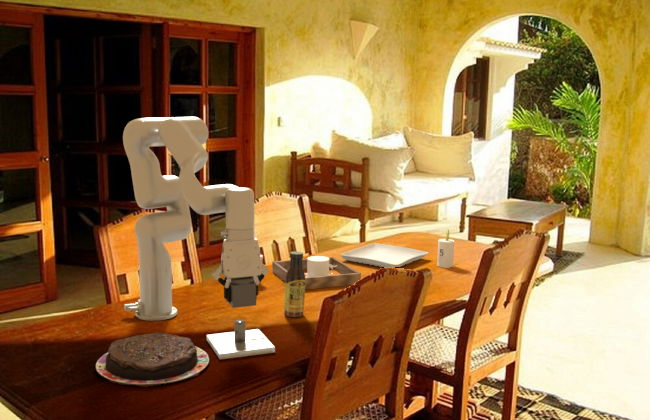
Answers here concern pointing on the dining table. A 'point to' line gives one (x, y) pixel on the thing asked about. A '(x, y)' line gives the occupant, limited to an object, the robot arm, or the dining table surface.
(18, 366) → the dining table surface
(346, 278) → the frame
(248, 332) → the shaft base
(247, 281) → the knob
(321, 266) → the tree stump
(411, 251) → the square plate
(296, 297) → the sauce bottle
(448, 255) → the candle
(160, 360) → the chocolate cake
